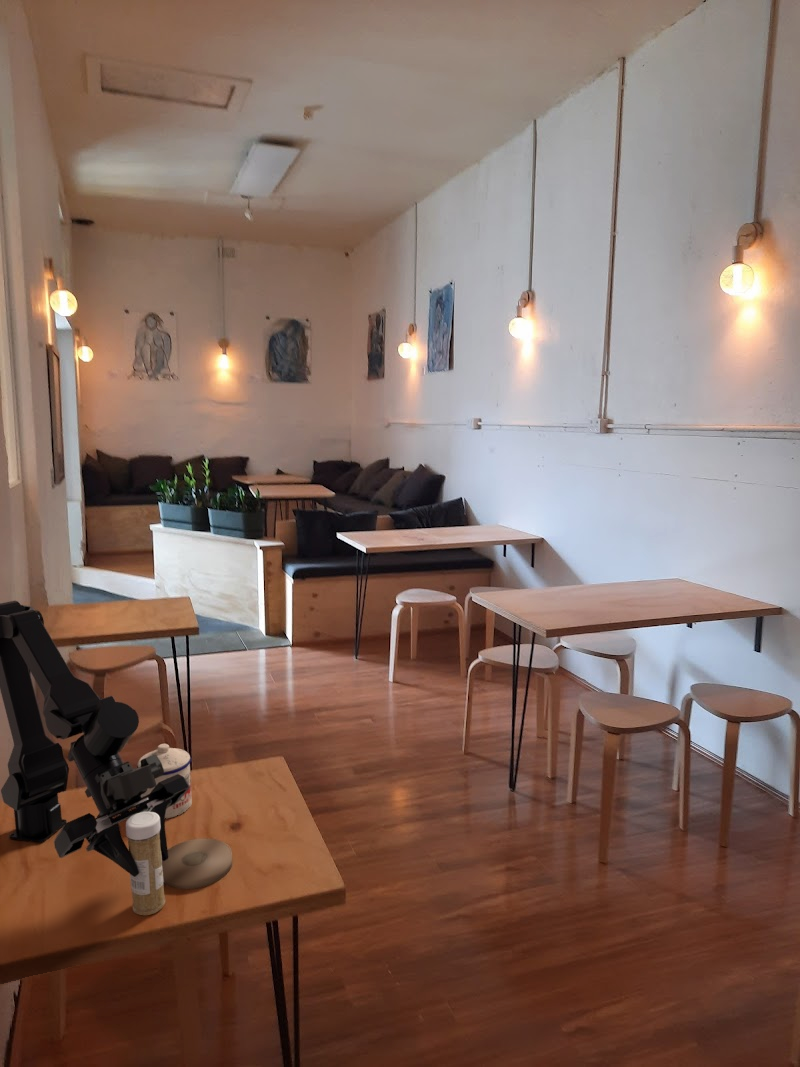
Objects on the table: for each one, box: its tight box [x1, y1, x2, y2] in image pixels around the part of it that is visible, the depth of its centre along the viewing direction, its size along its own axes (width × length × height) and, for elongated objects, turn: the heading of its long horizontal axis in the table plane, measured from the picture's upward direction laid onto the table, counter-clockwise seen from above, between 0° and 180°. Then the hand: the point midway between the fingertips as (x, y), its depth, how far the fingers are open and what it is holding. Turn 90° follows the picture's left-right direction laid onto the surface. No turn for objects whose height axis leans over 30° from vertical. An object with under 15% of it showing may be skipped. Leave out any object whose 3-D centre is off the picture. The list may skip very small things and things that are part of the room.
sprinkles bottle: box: [125, 812, 166, 916], centre depth 106 cm, size 5×5×13 cm
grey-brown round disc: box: [162, 838, 233, 890], centre depth 116 cm, size 11×11×2 cm
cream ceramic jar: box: [136, 743, 193, 819], centre depth 135 cm, size 12×9×12 cm
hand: (151, 867), depth 105 cm, fingers closed on sprinkles bottle, 4 cm apart
